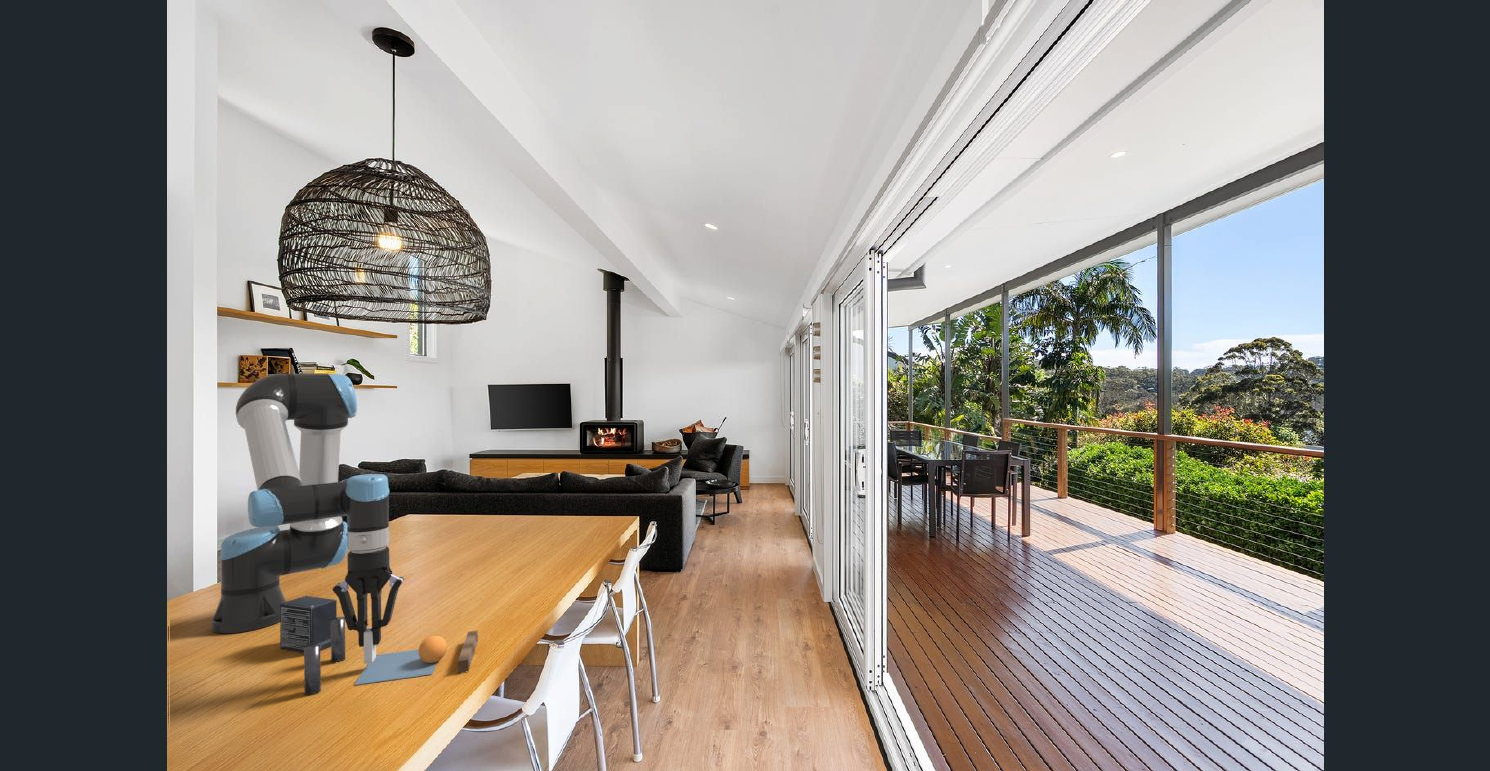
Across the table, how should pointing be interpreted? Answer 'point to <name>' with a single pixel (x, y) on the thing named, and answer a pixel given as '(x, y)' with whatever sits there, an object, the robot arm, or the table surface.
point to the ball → (432, 649)
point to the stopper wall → (467, 651)
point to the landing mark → (395, 667)
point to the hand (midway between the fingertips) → (370, 660)
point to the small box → (306, 622)
